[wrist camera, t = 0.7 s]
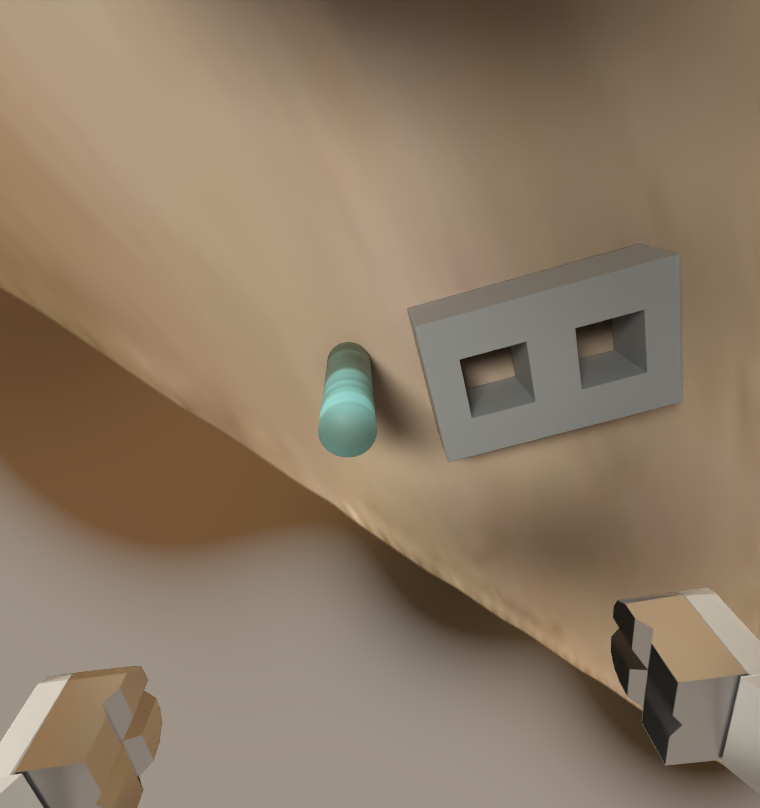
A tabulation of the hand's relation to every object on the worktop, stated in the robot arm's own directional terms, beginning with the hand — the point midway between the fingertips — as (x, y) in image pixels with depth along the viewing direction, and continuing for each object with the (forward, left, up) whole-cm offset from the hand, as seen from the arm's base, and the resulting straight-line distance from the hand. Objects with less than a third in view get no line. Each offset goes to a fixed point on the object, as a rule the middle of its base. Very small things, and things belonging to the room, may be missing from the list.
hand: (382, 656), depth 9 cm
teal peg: (+8, -3, -39) cm, 40 cm away
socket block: (+11, +14, -39) cm, 42 cm away
